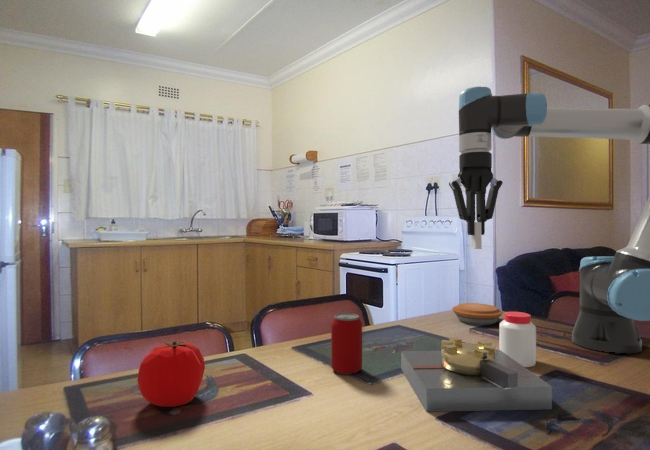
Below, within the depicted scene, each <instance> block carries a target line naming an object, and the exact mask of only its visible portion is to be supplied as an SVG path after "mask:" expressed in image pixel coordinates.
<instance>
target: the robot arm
mask: <svg viewBox="0 0 650 450" xmlns="http://www.w3.org/2000/svg"><path fill="white" fill-rule="evenodd" d="M492 133H493V134H494V136H495V137H497V138H499V139H504V140H506V139H507V140H508V139H512V138H515V137H516V138H517V137H519V138H520V137H521V138H523V137H524V138H525V137H526V138H527V137H531V138H535V137H537V138H562V139H563V138H566V139H567V138H568V139H570V138H571V139H597V140H598V139H599V140H600V139H601V140H602V139H604V140H631V141H632V142H633V143H634V144H637V145H650V104H643V105H641V106H639V107H638V108H595V107H594V108H580V107H570V108H568V107H566V108H565V107H548V101H547V97H546V95H545V94H544V93H541V92H527V93H517V94H515V93H514V94H506V95H493V93H492V90H491V88H489V87H487V86H473V87H468V88H466V89H464V90H462V91H461V92H460V94H459V97H458V136H459V137H458V144H459V145H458V151H459V153H460V155H459V157H458V158H459V160H458V161H459V162H458V163H459V166H458V167H459V171H458V174H457V178H456V179H454V180H452V181H450V182H449V183H448V186H449V187H450V189H451V190H452V192H453V196H454V201H455V205H456V210H457V213H458V217H459V218H458V219H460V220H463V221H465V222H466V223H467V224H466V227H467V228H466V229H467V232H466V233H467V235H468V236H470V249H472V250H473V249H474V250H482V249H483V248H482V243H483V242H482V236H484V235H485V230H486V227H485V226H486V225H485V223H486V222H487V221H489V220H492V219H493V217H494V212H495V208H496V203H497V198H498V193H499V190H500V189H501V187H502V186H503V180H498V179H497V178H496V177H494V174H493V171H492V167H493V166H492V165H493V161H492V160H493V159H492V158H493V156H492V155H493V154H492V153H491V152H490V151H492ZM461 186H463V187H464V192H465V197H466V198H465V199H466V200H465V199H464V194H463V190H462V188H461ZM488 186H489V189H488V192H487V188H488ZM487 193H488V195H487V199H486V194H487ZM465 201H466V202H465ZM579 264H580V265H579V268H578V271H579V313H578V316H577V318H576V321H575V324H574V326H573V330H572V331H571V342H572V343H574V345H575V344H576V345H577V346H579V347H582V348H584V349H589V350H592V351H597V350H598V351H597V352H602V351H604V352H603V353H609V352H615V353H614V354H620V353H627V354H628V355H629V354H637V353H640V352H642V350H643V341H642V340H643V339H642V338H641V336H640V333H639V330H638V327H637V325H636V322H635V321H641V322H649V321H650V195H649V196H648V199H647V201H646V203H645V206H644V208H643V210H642V213H641V215H640V217H639V219H638V221H637V223H636V226H635V228H634V229H633V233H632V235H631V237H630V239H629V242H628V244H627V246H625V247H623V248H621V249H618V250H616V252H615V254H614V256H612V255H611V256H609V255H607V256H585V257H583V258H581V260H580V263H579Z"/></svg>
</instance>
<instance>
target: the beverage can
mask: <svg viewBox="0 0 650 450" xmlns="http://www.w3.org/2000/svg"><path fill="white" fill-rule="evenodd" d="M330 326H331V327H330V329H331V331H330V332H331V334H330V337H331V339H330V342H331V343H330V348H331V349H330V350H331V351H330V352H331V353H330V355H331V356H330V359H331V360H330V362H331V363H330V364H331V369H333V370H334V371H335V372H336V373H338V374H341V375H353V374H352V373H354V374H356V373H357V372H360V371H361V370H362V368H363V322H362V320H361V319H360V315H358V314H356V313H352V312H351V313H350V312H342V313H341V312H340V313H336V314H334V317H333V319H332V320H331V325H330ZM355 372H356V373H355Z"/></svg>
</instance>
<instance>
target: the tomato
mask: <svg viewBox="0 0 650 450" xmlns="http://www.w3.org/2000/svg"><path fill="white" fill-rule="evenodd" d="M205 365H206V364H205V358H204V356H203V354H202V353H201V350H200V349H199V348H198V347H197V346H196V345H195V344H193V343H191V342H182V341H179V342H177V341H176V340H175V341H174V340H173V341H172V342H166V341H162V344H160V345H157V346H154V347H153V348H152V349H150V351H149V352H148V353H147V354H146V355H145V356H144V357H143V359H142V360H141V362H140V365H139V369H138V372H137V379H136V380H137V385H138V386H137V387H138V390H139V392H140V394H141V396H142V397H143V398H144V399H145V400H146V402H148V403H149V404H152V405H153V406H158V407H171V408H172V407H173V408H175V407H176V406H177V407H179V406H183V405H186V404H188V403H189V402H190V401H192V400H194V398H195V396H196V395H197V393H198V392H199V389H200V387H201V383H202V381H203V378H204V373H205V369H206V366H205ZM177 407H176V408H177Z"/></svg>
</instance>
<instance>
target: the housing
mask: <svg viewBox="0 0 650 450" xmlns="http://www.w3.org/2000/svg"><path fill="white" fill-rule="evenodd" d="M400 359H401V360H400V364H401V365H400V370H401V369H402V370H401V372H402V371H403V372H402V373H403V375H404V377H405V378H406V380H407V382H408V383H409V385H410V387H411V388H412V391H413V392H414V393H415V394H416V397H417V398H418V400H419V402H420V403H421V405H422V407H423V408H424V410H425V412H426V413H428V412H429V413H430V412H431V413H432V412H433V413H434V412H438V413H439V412H482V411H484V412H486V411H526V410H527V411H533V410H534V411H535V410H536V411H539V410H552V409H553V386H552V385H550V383H548V382H546V381H545V380H543V379H542V378H541V377H540V376H538V375H536V374H535V373H533V372H532V371H531V370H529V369H528V368H527V367H523V366H522V365H521V364H519V363H518V362H516V361H515V360H513V359H512V358H511V357H509V356H508V355H506V354H505V353H503V352H502V351H501V350H499V349H496V353H495V362H496V363H498V364H500V365H503V366H505V367H507V368H509V369H511V370H513V371H515V372H517V373H518V387H512V388H507V387H505V386H503V385H501V384H499V383H497V382H496V381H494V380H492V379H490V378H488V377H486V376H484V375H469V374H462V373H457V372H454V371H451V370H448V369H446V368H445V367H443V366H442V364H441V350H404V351H403V350H402V351H401V352H400Z"/></svg>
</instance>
